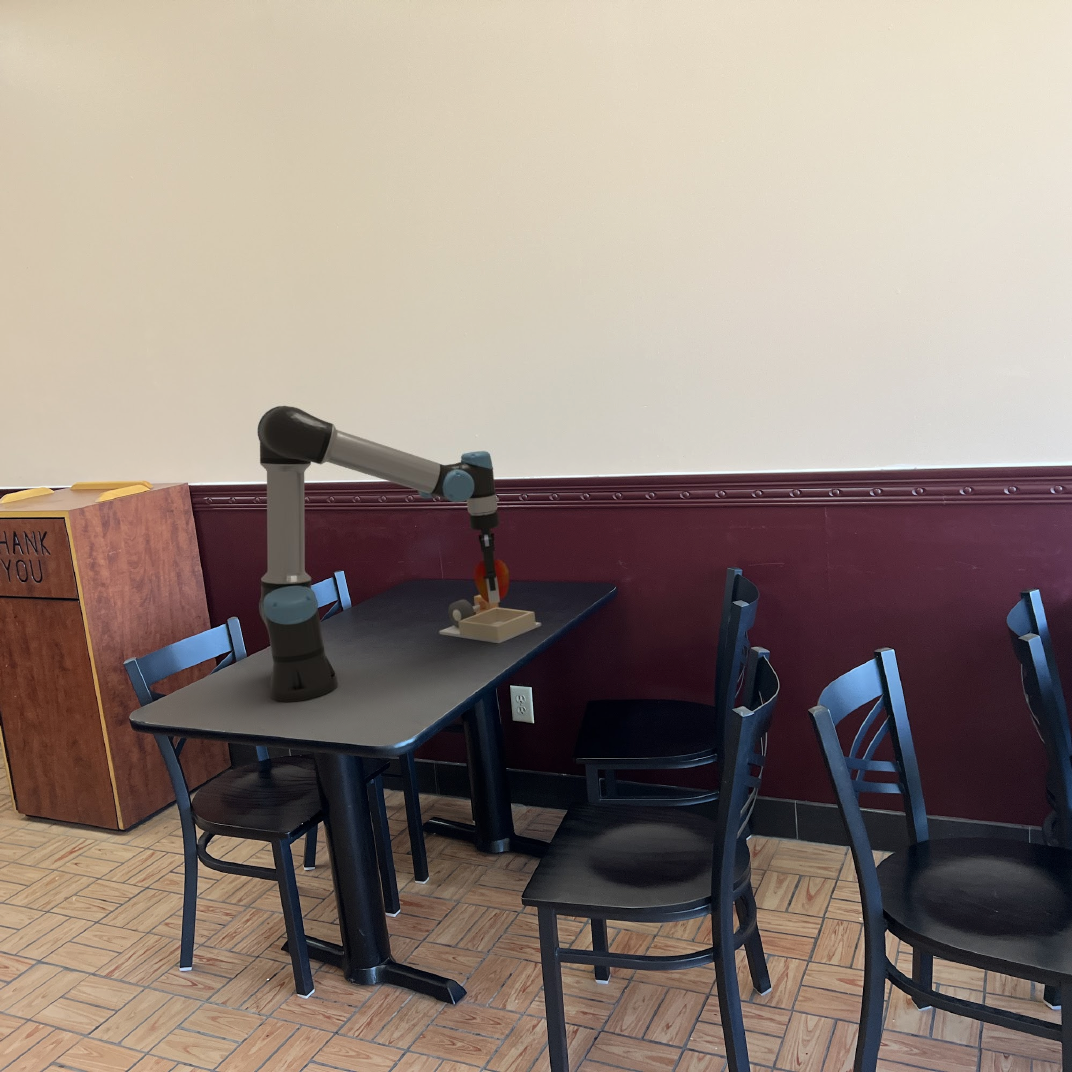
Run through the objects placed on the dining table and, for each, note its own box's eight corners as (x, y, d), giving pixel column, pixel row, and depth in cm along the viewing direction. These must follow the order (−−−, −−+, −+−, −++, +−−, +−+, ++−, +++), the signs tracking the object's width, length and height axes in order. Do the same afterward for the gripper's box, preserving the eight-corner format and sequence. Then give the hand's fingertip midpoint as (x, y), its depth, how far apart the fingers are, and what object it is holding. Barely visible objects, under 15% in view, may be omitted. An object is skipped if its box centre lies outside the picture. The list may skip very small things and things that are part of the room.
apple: (506, 605, 246) (500, 559, 244) (472, 607, 248) (466, 561, 246) (516, 596, 255) (511, 551, 253) (484, 597, 257) (478, 553, 255)
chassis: (498, 643, 243) (495, 616, 242) (439, 634, 258) (436, 608, 257) (541, 625, 255) (538, 600, 254) (482, 617, 270) (478, 593, 268)
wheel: (467, 629, 255) (464, 603, 254) (449, 626, 260) (446, 601, 259) (489, 621, 261) (486, 595, 260) (471, 618, 266) (468, 593, 265)
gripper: (498, 517, 237) (510, 606, 241) (497, 504, 258) (507, 586, 262) (468, 521, 236) (479, 610, 240) (469, 507, 258) (479, 589, 262)
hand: (494, 597), depth 251 cm, fingers closed on apple, 9 cm apart
